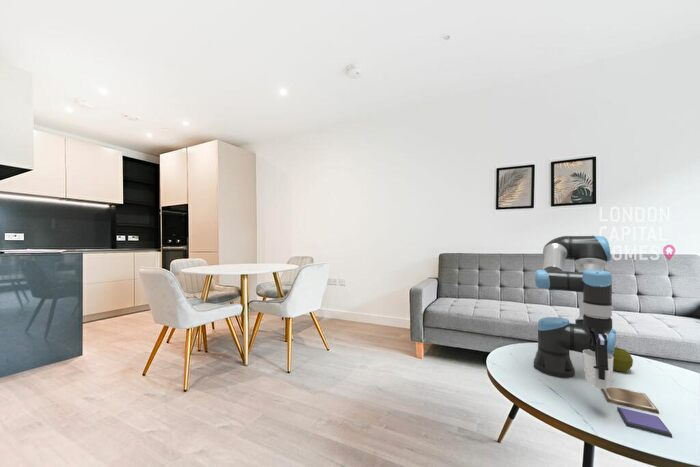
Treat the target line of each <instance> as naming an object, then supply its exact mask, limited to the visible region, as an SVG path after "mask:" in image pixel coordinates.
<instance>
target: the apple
mask: <svg viewBox="0 0 700 467" xmlns="http://www.w3.org/2000/svg"><path fill="white" fill-rule="evenodd" d="M612 356H613V371H616V372H620V373H621V372H622V373H623V372H624V373H625V372H629V371H630V370H631V368H632V367H633V365H634V364H633V362H634V360H633V357H632V355H631V354H630V353H629V352H628V351H627V350H626V349H623V348H620V347H617V346H615V349H614V353H613V355H612Z"/></svg>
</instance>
